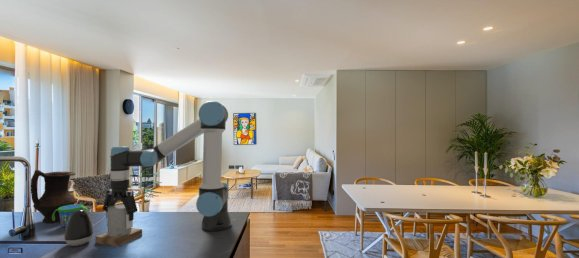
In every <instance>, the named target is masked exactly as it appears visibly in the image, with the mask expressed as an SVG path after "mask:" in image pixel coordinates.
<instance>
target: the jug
mask: <svg viewBox="0 0 579 258" xmlns="http://www.w3.org/2000/svg"><path fill="white" fill-rule="evenodd" d="M75 175H76V173H75V172H74V171H50V172H46V173H45V172H43V171H41V170H40V169H35V170H34V172H33V174H32V177H31V179H30V194H31V201H32V203H33V205H32V207H33V209H35V210H36V211H38V213H40V214H41V215H42V216H43V218H42V223H45V224H52V223H59V222H60V223H61V221H60V215H59V212H58V210H57V209H58V208H59V207H62V206H66V205H73V204H77V202H78V200H77V199H76V197H75V196H74V195H73V194H72V193H70V191H69V184H70V178H71V176H75ZM39 177H42V178H43V180H44V191H43V194H42V195H41V196H40V197H39V195H38V181H39V180H38V179H39ZM55 210H57V211H56V212H55V214H54V215H55V221H52V214H53V212H54V211H55Z"/></svg>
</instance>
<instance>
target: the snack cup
mask: <svg viewBox="0 0 579 258" xmlns="http://www.w3.org/2000/svg"><path fill="white" fill-rule="evenodd" d="M57 210H58V212H59V215H60V226H61V227H62V228H66V226H67V223H68V220H69V218H70V216H71V215H72V214H73V212H75V211H77V210H85V211H86V212H87V213H88V215H90V214H89V213H90V211H89V208H88V207H87V206H84V204H78V203H75V204H73V205H66V206H62V207H59V208H58V209H57ZM57 210H55V211H54V212H53V214H52V221H55V215H54V214H55V212H56V211H57Z"/></svg>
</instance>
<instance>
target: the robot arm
mask: <svg viewBox="0 0 579 258" xmlns="http://www.w3.org/2000/svg"><path fill="white" fill-rule="evenodd" d="M197 113H198V119H197V120H195V121H193V122H192V123H190V124H188V125H187V126H185V127H184V128H183V129H181V130H179V131H177V132H176V133H174V134H173V135H171V136H170V137H167V138H166V139H165V140H163V141H162V142H160V143H158V144H157V145H155V146H153V147H152V148H150V149H143V150H142V149H140V150H131V148H130V146H127V145H126V146H125V145H124V146H123V145H121V146H119V145H117V146H112V147H111V149H110V155H109V157H110V171H109V172H110V174H109V177H110V178H109V179H110V182H109V183H110V186H109V187H110V189H107V190H106V195H105V198H104V202H103V205H102V211H105V213H106V227H108V207H110V206H113V205H116V203H117V201H118V200H119V201H121V202H122V204H124V206H125V208H126V210H127V212H128V213H127V214H126V229H128V228H134V227H133V224H134V221H133V220H134V214H135V213H136V212H137V213H138V206H137V203H136V200H135V196H134V194H135V191H134V190H131V191H130V190H129V187H130V167H154V166H155V165H156V164H158V163H160V162H162V161H163V160H164V159H165V158H166V157H168V156H169V155H171V154H172V153H174V152H176V151H177V150H179V149H181V148H182V147H184V146H186V145H187V144H188V143H190V142H191V141H193V140H195V139H196V138H198V137H199V136H201V135H203V142H202V143H203V146H202V147H203V148H202V149H203V150H202V151H203V153H202V154H203V155H202V183H200V184H199V186H198V197H197V200H196V203H195V204H196V205H195V206H196V209H197V211H198V213H200V215H202V216H203V218H202V221H201V229H202V230H205V231H209V232H217V231H222V230H226V229H228V228H230V227H231V226H232V220H231V216H230V213H229V211H228V210H229V209H228V205H229V203H228V202H229V201H228V200H229V199H228V198H229V197H228V195H229V194H228V193H229V192H228V191H229V186H228V183H227V182H223V181H222V155H223V154H222V153H223V152H222V151H223V150H222V149H223V146H222V145H223V133H224V132H225V131H226V122H227V121H228V119H229V112H228V110H227V108H226V107H225V105H223V104H222V103H220V102H218V101H213V100H209V101H205V102H204V103H202V104H201V106H200V107H199V109H198V112H197ZM130 210H131V211H130Z"/></svg>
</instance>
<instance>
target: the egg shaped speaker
mask: <svg viewBox="0 0 579 258" xmlns="http://www.w3.org/2000/svg"><path fill="white" fill-rule="evenodd" d="M89 215H90V214H89ZM89 215H88V213H87V211H86V210H85V209H83V210H77V211H75V212H73V214H72V215H71V216H70V218H69V220H68V223H67V226H66V227H65V230H64V236H63V239H64V241H65V243H66V245H68V246H70V247H79V245H80V246H82V245H84V244H87V243H88V242H89V241H90V240H91V239H92V236H93V234H94V228H93V223H92V220H91V216H89Z"/></svg>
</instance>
